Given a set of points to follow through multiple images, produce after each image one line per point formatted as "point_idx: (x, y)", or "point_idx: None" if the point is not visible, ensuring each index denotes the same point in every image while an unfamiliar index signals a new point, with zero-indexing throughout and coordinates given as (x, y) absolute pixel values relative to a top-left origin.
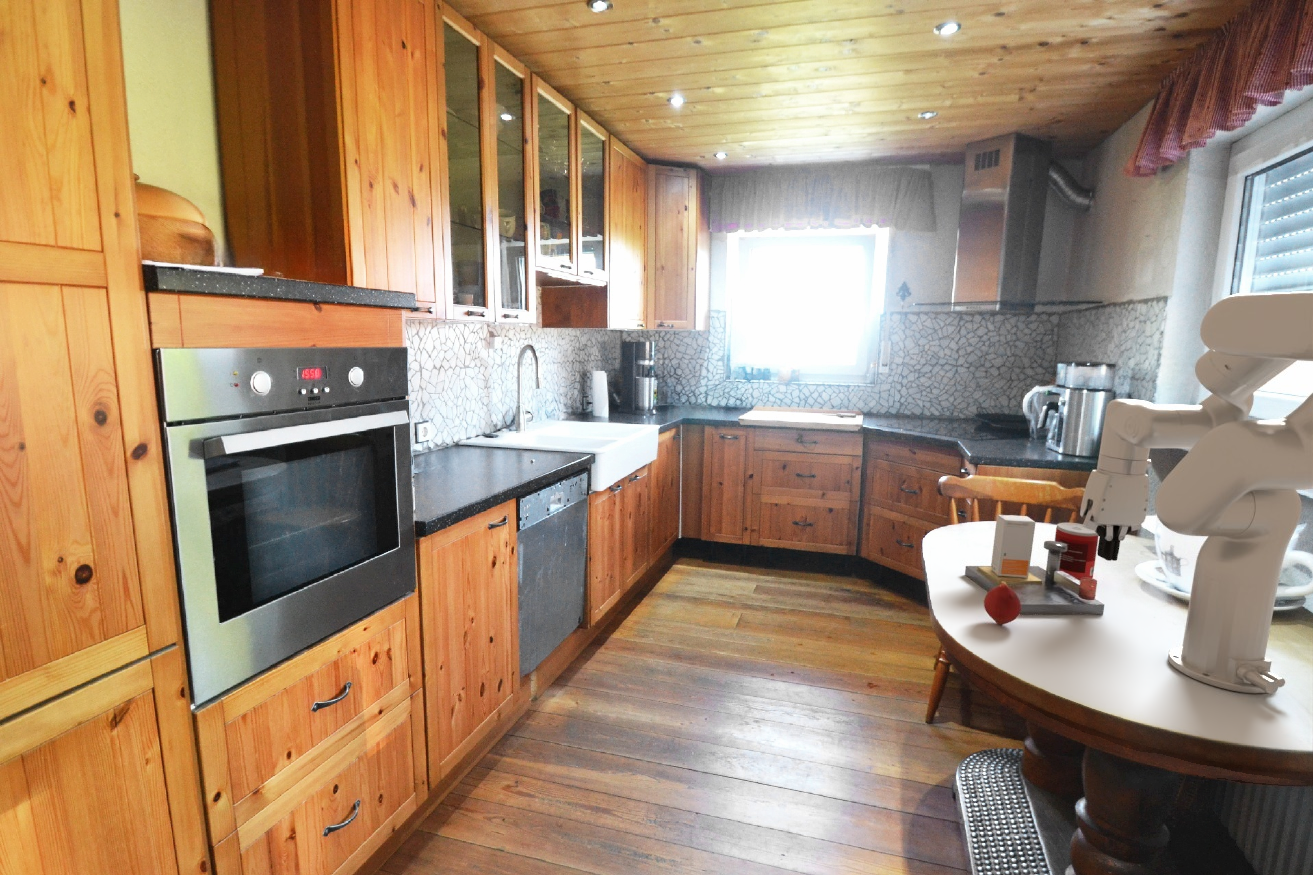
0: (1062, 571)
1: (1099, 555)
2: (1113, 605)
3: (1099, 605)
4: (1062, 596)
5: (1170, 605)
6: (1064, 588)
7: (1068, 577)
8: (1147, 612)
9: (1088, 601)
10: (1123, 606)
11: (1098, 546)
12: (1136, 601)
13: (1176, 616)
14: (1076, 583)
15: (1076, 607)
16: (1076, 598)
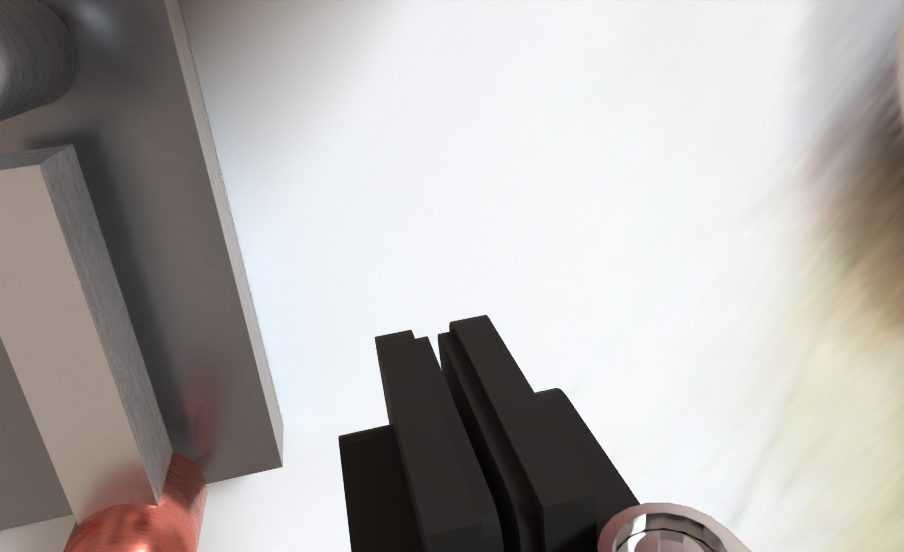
0: (31, 182)
1: (380, 370)
2: (436, 263)
3: (247, 469)
4: (7, 396)
5: (795, 198)
6: (95, 209)
7: (36, 356)
8: (580, 333)
9: (187, 443)
10: (493, 268)
11: (344, 490)
12: (635, 164)
13: (701, 356)
14: (63, 486)
15: None
16: None
